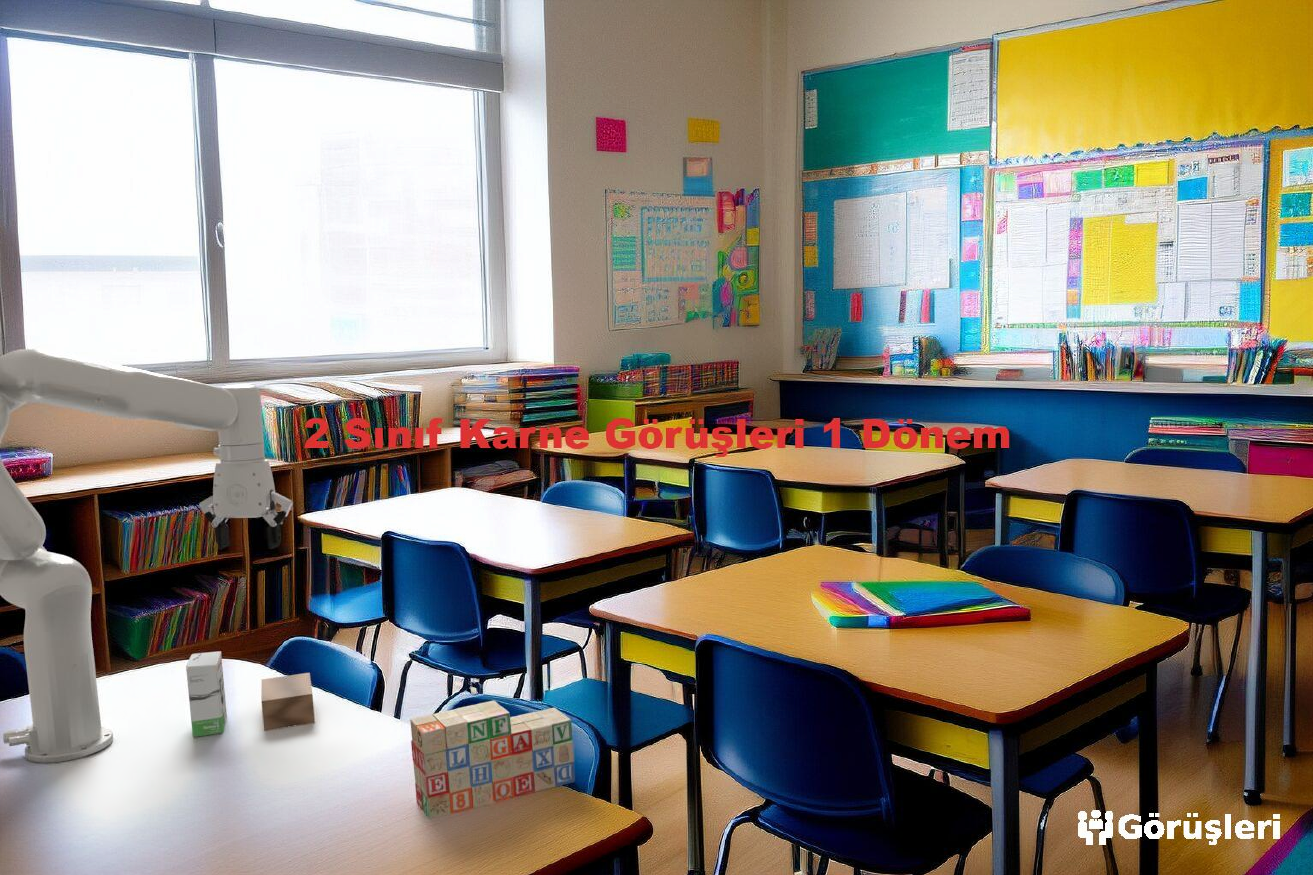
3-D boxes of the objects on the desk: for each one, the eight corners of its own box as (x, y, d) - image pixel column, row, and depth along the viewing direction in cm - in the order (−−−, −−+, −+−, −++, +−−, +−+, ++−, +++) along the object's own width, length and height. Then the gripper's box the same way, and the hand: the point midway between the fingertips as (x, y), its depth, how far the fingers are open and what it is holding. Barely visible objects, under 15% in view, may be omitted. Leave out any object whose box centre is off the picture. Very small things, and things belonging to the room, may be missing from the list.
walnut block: (264, 730, 183) (261, 701, 183) (263, 707, 195) (261, 679, 194) (314, 722, 186) (312, 693, 185) (311, 699, 197) (309, 672, 197)
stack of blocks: (559, 767, 163) (554, 686, 162) (576, 783, 158) (571, 699, 156) (415, 803, 154) (409, 716, 152) (428, 820, 148) (421, 731, 147)
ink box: (223, 733, 183) (217, 663, 181) (191, 738, 181) (184, 668, 180) (227, 716, 191) (221, 649, 190) (196, 720, 190) (190, 652, 188)
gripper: (185, 457, 198) (193, 552, 200) (278, 455, 196) (284, 551, 197) (208, 452, 205) (214, 543, 207) (297, 450, 203) (303, 543, 205)
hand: (249, 547), depth 202 cm, fingers open, 9 cm apart
